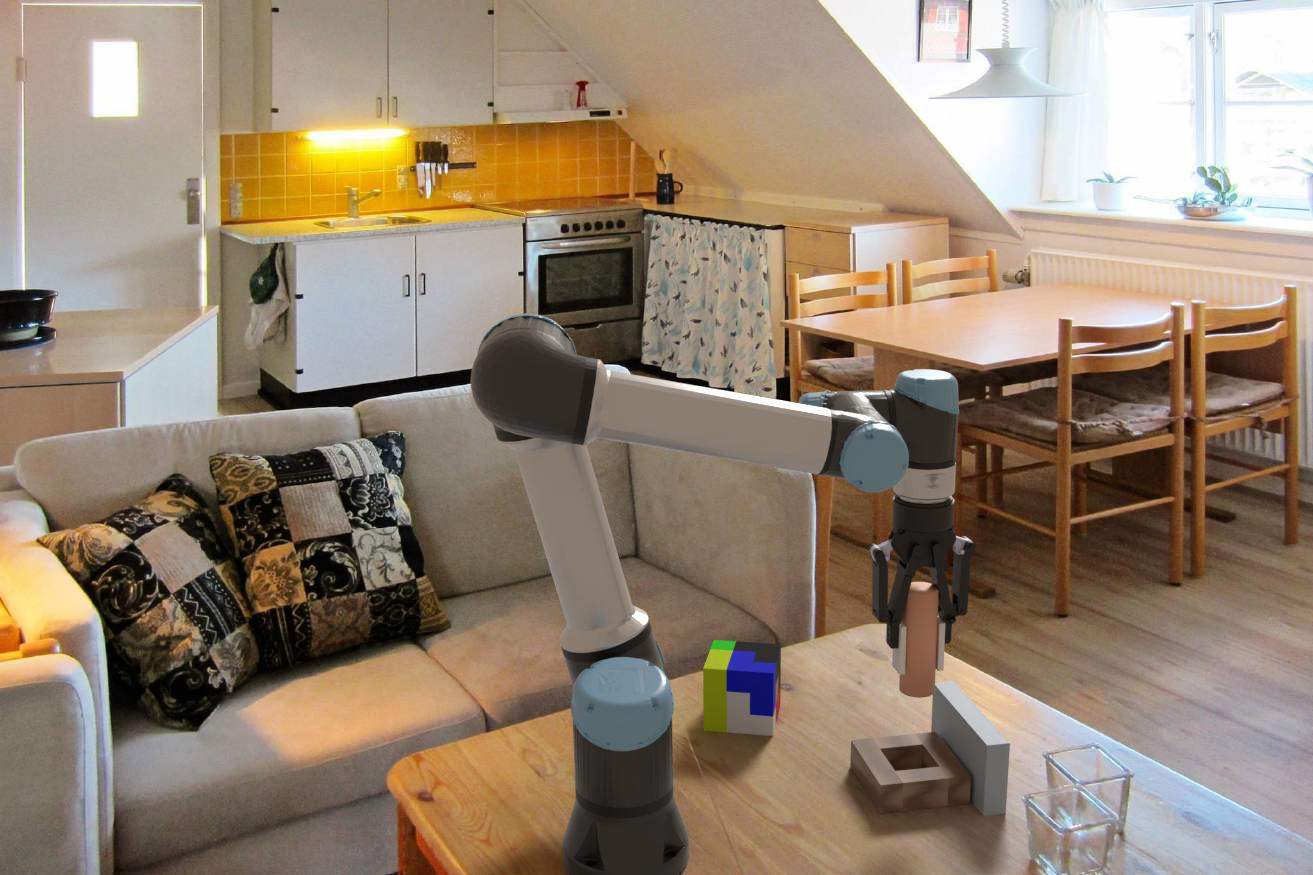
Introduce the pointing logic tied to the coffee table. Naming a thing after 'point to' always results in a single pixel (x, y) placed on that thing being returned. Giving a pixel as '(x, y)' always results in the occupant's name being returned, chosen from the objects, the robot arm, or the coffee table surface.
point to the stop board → (973, 746)
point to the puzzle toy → (742, 687)
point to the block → (909, 772)
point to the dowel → (920, 640)
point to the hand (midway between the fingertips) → (917, 667)
